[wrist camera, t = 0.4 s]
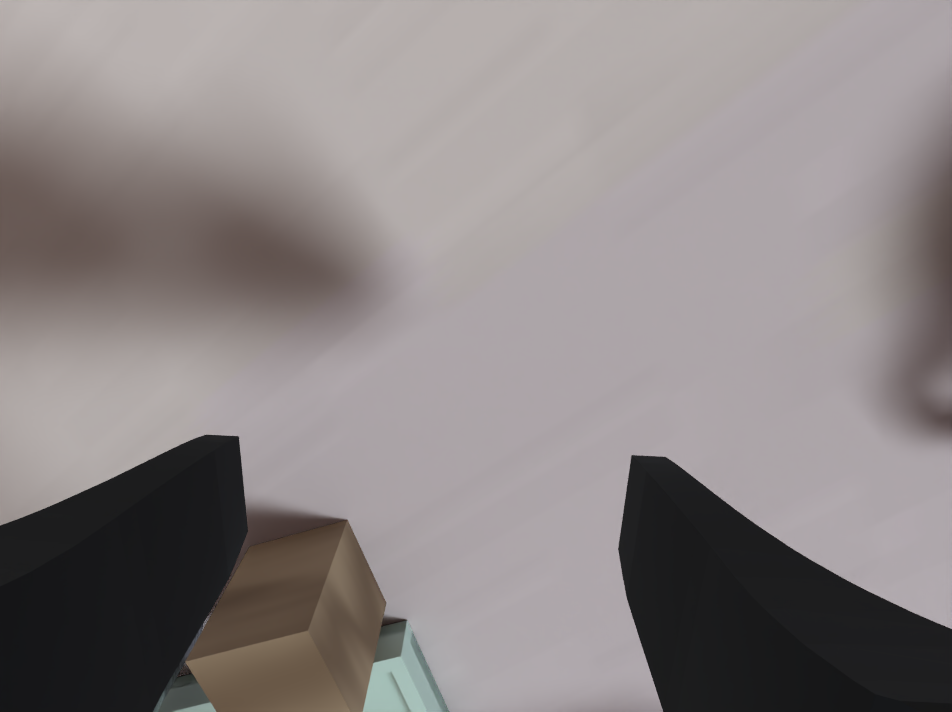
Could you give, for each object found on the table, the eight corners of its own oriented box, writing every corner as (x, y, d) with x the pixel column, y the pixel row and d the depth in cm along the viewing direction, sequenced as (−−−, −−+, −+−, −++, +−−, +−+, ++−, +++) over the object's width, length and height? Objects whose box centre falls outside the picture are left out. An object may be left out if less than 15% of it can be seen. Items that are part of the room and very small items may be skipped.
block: (386, 602, 25) (359, 727, 20) (292, 626, 26) (242, 754, 21) (347, 519, 24) (307, 630, 19) (249, 546, 24) (185, 661, 19)
